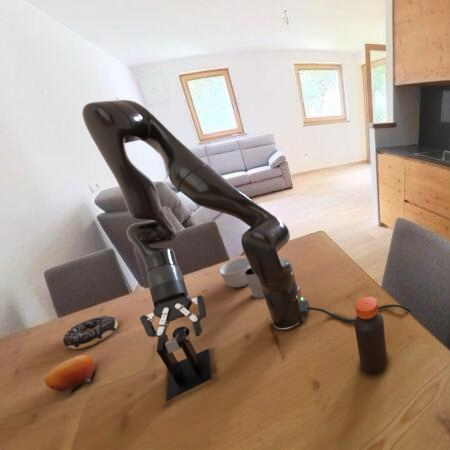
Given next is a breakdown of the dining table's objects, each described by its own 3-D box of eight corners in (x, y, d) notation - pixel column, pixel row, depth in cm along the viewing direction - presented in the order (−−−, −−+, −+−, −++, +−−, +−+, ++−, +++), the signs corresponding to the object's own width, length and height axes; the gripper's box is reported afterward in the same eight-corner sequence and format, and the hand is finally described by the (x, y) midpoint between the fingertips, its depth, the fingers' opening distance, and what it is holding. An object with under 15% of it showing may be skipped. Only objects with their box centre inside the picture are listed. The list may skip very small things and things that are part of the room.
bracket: (170, 369, 72) (148, 333, 67) (210, 351, 77) (192, 316, 71) (168, 403, 64) (143, 366, 58) (213, 381, 69) (193, 344, 63)
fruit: (58, 403, 64) (35, 376, 63) (61, 399, 69) (40, 374, 68) (104, 375, 70) (85, 349, 69) (104, 373, 75) (86, 349, 74)
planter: (269, 293, 98) (262, 269, 94) (258, 300, 95) (249, 276, 90) (262, 289, 100) (254, 265, 96) (250, 296, 97) (241, 272, 93)
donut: (86, 354, 78) (78, 344, 76) (56, 347, 80) (48, 338, 79) (128, 324, 87) (122, 315, 86) (100, 319, 90) (94, 310, 88)
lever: (176, 341, 75) (171, 328, 75) (192, 334, 77) (187, 322, 76) (165, 357, 64) (160, 343, 63) (184, 349, 65) (179, 335, 65)
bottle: (355, 367, 70) (344, 307, 61) (372, 348, 75) (364, 290, 66) (376, 381, 67) (368, 319, 58) (392, 360, 72) (387, 300, 63)
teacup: (244, 293, 99) (238, 274, 95) (219, 290, 101) (211, 272, 98) (268, 270, 111) (263, 253, 108) (245, 268, 113) (239, 251, 110)
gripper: (127, 292, 70) (143, 356, 67) (194, 271, 78) (212, 328, 74) (139, 297, 77) (154, 356, 73) (200, 277, 84) (217, 330, 80)
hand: (183, 341), depth 74 cm, fingers open, 6 cm apart
